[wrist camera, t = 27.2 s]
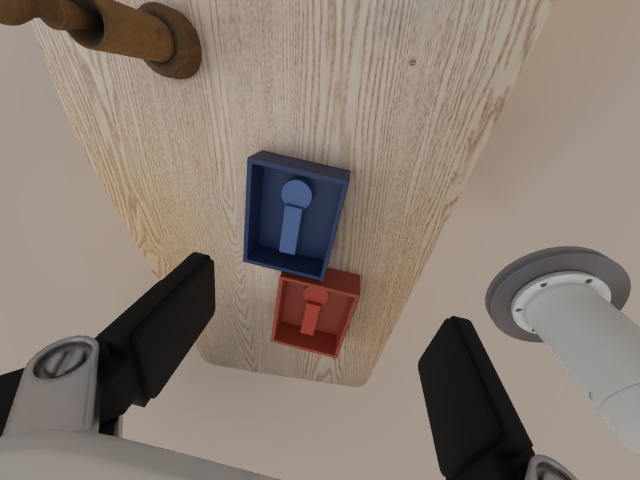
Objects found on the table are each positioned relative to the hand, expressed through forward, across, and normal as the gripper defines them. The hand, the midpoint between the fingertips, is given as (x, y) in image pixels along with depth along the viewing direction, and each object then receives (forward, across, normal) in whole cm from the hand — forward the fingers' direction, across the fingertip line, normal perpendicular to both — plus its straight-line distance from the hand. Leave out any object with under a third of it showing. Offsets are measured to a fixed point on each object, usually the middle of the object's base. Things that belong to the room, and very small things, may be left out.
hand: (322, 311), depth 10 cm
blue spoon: (+26, +6, +8) cm, 28 cm away
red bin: (+26, 0, +24) cm, 36 cm away
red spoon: (+26, 0, +24) cm, 36 cm away
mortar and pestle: (+26, +23, -9) cm, 36 cm away
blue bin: (+26, +6, +8) cm, 28 cm away
